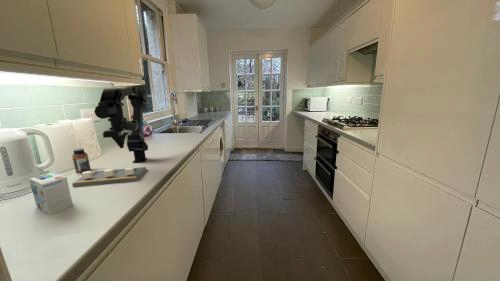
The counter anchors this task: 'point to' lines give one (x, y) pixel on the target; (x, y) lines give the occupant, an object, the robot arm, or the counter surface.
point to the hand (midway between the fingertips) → (122, 148)
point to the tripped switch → (129, 171)
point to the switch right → (87, 174)
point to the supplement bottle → (80, 160)
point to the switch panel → (116, 178)
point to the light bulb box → (51, 192)
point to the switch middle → (108, 173)
